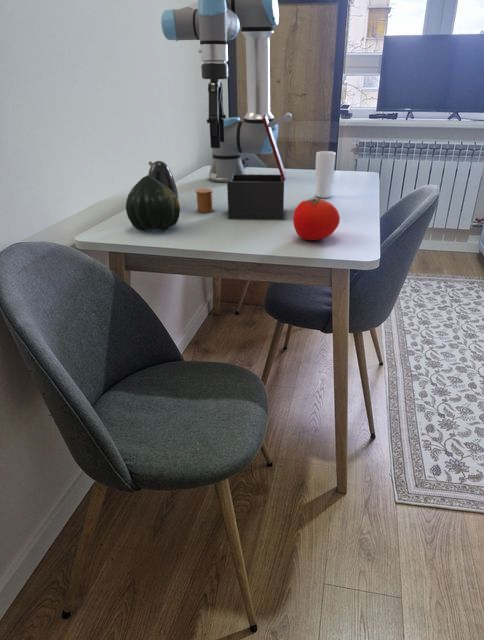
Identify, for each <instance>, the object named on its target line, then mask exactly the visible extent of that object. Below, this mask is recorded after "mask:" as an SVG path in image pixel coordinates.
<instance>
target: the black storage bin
mask: <svg viewBox="0 0 484 640" xmlns="http://www.w3.org/2000/svg"><path fill="white" fill-rule="evenodd" d="M226 186H227V188H226V191H227V215H228V220H284V209H285V208H284V207H285V206H284V205H285V203H284V202H285V181H283V180H282V177H281V174H250V173H249V174H248V173H247V174H246V173H245V174H231V175H230V177H229V179H228V182H226Z"/></svg>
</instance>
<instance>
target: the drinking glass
mask: <svg viewBox="0 0 484 640" xmlns="http://www.w3.org/2000/svg"><path fill="white" fill-rule="evenodd" d="M335 167H336V152H335V151H330V150H321V151H320V150H319V151H316V153H315V196H316V197H317V198H318V199H319V198H321V197H322V198H321V199H327V198H330V197H331V195H332V186H333V179H334V172H335Z"/></svg>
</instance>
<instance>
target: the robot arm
mask: <svg viewBox="0 0 484 640" xmlns="http://www.w3.org/2000/svg"><path fill="white" fill-rule="evenodd" d="M279 19H280V10H279V2H278V0H197V1H196V2H194V3H192V4H189V5H186V6H184V7H181V8H178V9H175V8H171V9H165V10H164V11H163V12H162V13H161V17H160V21H161V22H160V24H161V31H162V33H163V37H164V38H165V39H166V40H168V41H176V42H178V41H199V44H200V45H199V46H200V48H199V49H198V50H197V52H198V53H199V54H200V61H201V62H203V63H202V64H201V68H200V69H201V71H200V72H201V79H203V80H210V81H209V82H208V84H207V92H208V117H207V119H206V123H207V124H209V141H210V149H211V151H212V153H211V154H212V161H211V164H210V169H209V174H208V180H209V181H211V182H215V183H227V182H228V179H229V177H230V175H231V174H246V172H245V171H246V170H245V167H247V165H248V163H247V161H246V160H249V157H247V158H245V159H242V154H256V155H257V154H259V155H270V154H272V153H273V150H272V147H271V144H270V141H269V138H268V135H267V132H266V129H265V126H264V123H263V120H262V118H263V116H264V115H265V114H267V117H268V120H269V122H272V121H274V120H275V117H274V115H273V114H272V112H271V90H270V89H271V76H270V75H271V74H270V73H271V71H270V70H271V65H270V62H271V61H270V60H271V57H270V56H271V55H270V53H271V52H270V50H271V49H270V47H271V46H270V45H271V43H270V42H271V41H270V39H271V36H273V34H274V32H275V31H274V30H275V27H277V26H278V25H279ZM240 29H241V31H240ZM239 32H241V34H242V35H243V37H244V38H245V63H246V64H245V65H246V95H247V96H246V98H247V101H246V103H247V112H246V114H245V115H244V116H243V121H242V120H241V117H240V116H234V117H227V115H226V114H225V111H224V86H223V82H222V81H221V80H228V79H229V65H228V64H227V62H229V49H228V42H230V41H232V40H234V39H236V37H237V36H238V34H239ZM271 129H272V133H273V136H274V139H275V142H276V143H277V142H278V136H279V124H276V125H274V126H271ZM241 159H242V160H241ZM243 163H244V164H243Z"/></svg>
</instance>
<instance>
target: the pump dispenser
mask: <svg viewBox="0 0 484 640" xmlns="http://www.w3.org/2000/svg"><path fill="white" fill-rule="evenodd" d="M148 165H149V166H150V167H149V169H148V173H147V175H149V176H150V177H153V178H154V179H156V180H158V181H159V182H161V183H162V184H164V185H165V186H167V187H168V188H169V189H171V190H172V191H173V192H174V193H175V195H176V196H177V198H178V199H179V193H178V187H177V185H176V181H175V179H174V175H173V174H172V173H173V172H172V171H171V169H170V167H169V166H168V164H167V163H165V162H164V161H162V160H155V161H148Z"/></svg>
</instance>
